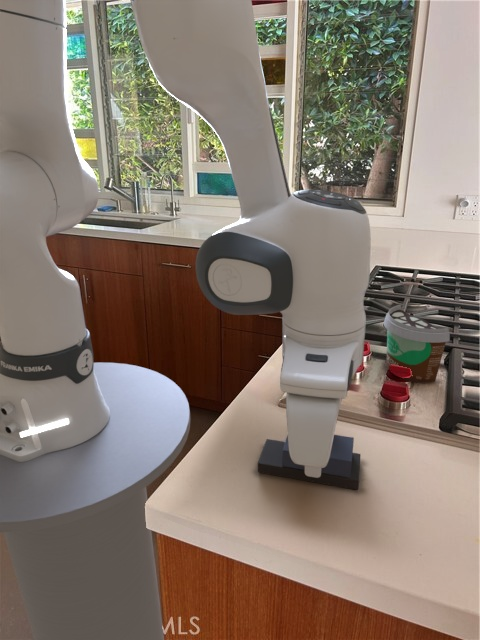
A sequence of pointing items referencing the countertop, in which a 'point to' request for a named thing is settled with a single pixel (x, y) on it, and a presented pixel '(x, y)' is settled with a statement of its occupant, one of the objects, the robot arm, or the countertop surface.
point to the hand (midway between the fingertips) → (318, 446)
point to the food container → (414, 344)
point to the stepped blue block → (336, 473)
